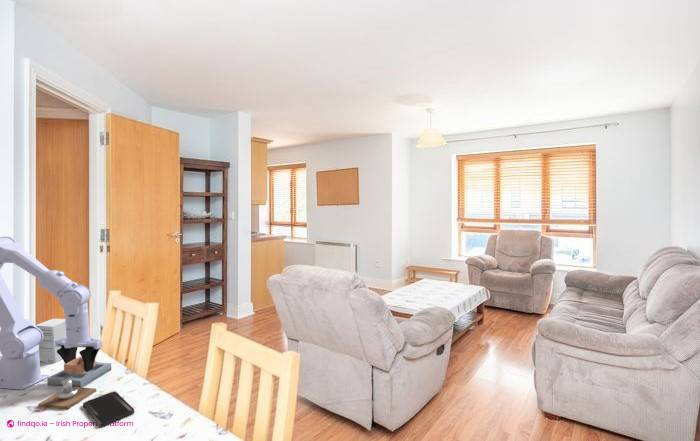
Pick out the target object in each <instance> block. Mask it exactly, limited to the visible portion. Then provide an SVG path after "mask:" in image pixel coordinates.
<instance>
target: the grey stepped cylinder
mask: <svg viewBox="0 0 700 441" xmlns="http://www.w3.org/2000/svg"><path fill="white" fill-rule="evenodd" d="M72 379H73V377H69V378H67V379H65V380H63V381H61V382H62V384H63V387H62V390H59V391H58V392H59V393H58V392H57V393H58V400H68V399H71V398H73V397H75V396H77V395H78V388H72Z"/></svg>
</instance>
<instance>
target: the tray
mask: <svg viewBox="0 0 700 441" xmlns="http://www.w3.org/2000/svg"><path fill="white" fill-rule="evenodd" d="M95 363H96V365H95V366H94V367H93V369H92V370H90V371H88V372H83V373H81V374H76V373H64V369H63V370H60V371H58V372H56V373H55V374H52V375H51V376H49V377H47V378H46V380H47V382H46V383H47V386H48V387H49V386H51V387H61V388H63V384H62V382H61V381H63V380H65V379H67V378H69V377H73V379H72V387H83V388H85V386H87V385H89V384H91V383H92V382H94V381H96V380H97V379H99V378H101V377H102V376H104V375H105V374H107V373H109V372H110V371H112V362H111V363H110V362H97V361H95Z"/></svg>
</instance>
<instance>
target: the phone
mask: <svg viewBox="0 0 700 441" xmlns="http://www.w3.org/2000/svg"><path fill="white" fill-rule="evenodd" d="M82 404H83V405H82V406H83V408H84V410H85V412H86V413H88V415H89V416H90V417H91V418H92V419H93V421H94V422H95V423H96V424H97V426H99V428H103V427H107V426H109V425H111V424H114V423H116V422H119V421H121V420H123V419H126V418H129V417H130V416H133V415H134V414H135V409H134V407H133V406H132V405H130V404H129V403H128V401H126V400H125V399H124V398H123V397H122V396H121V395H120V394H119V393H118V392H117V391H112V392H108V393H105V394H102V395H100V396H96V397H94V398H92V399H88V400H85V402H83V403H82Z"/></svg>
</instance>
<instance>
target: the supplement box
mask: <svg viewBox="0 0 700 441" xmlns="http://www.w3.org/2000/svg"><path fill="white" fill-rule="evenodd" d="M34 325H35V326H36V327H37V328H39V329H40V330H41V331H42V332H43V340H42V342H41V343H40V344H39V358H40V361H42V362H41V363H50V362H53V363H57V362H60V361H61V360H63V359H62V358H61V356H60V355H59V354H58V353H57V350H59V349H60V348H61V346H59V347H55V340H58V339H60V338H66V325H65V318H51V319H49V320H46V321H43V322H41V323H37V324H34Z"/></svg>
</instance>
